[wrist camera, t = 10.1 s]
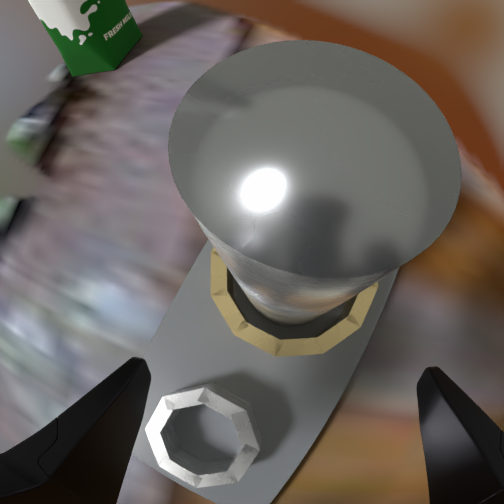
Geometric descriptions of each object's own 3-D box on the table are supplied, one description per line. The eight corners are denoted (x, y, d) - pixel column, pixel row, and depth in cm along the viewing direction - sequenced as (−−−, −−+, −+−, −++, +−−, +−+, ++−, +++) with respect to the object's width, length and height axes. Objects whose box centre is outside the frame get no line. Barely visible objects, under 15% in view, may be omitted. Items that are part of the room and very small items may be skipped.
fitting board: (257, 513, 14) (255, 520, 13) (111, 429, 16) (104, 433, 15) (398, 257, 18) (403, 253, 17) (246, 185, 20) (245, 178, 19)
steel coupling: (310, 341, 16) (417, 341, 3) (230, 300, 17) (110, 187, 4) (348, 262, 17) (467, 102, 4) (271, 225, 18) (257, 22, 5)
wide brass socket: (324, 377, 15) (332, 383, 13) (194, 309, 17) (180, 304, 14) (382, 249, 17) (397, 234, 14) (261, 191, 19) (259, 170, 16)
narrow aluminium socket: (229, 486, 13) (223, 501, 12) (147, 440, 15) (134, 449, 13) (276, 415, 15) (276, 425, 13) (188, 367, 16) (176, 370, 14)
